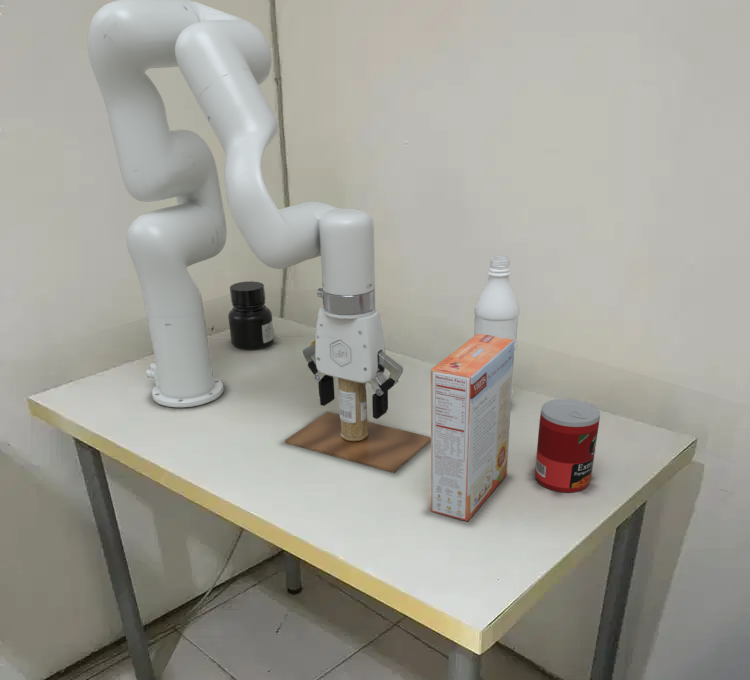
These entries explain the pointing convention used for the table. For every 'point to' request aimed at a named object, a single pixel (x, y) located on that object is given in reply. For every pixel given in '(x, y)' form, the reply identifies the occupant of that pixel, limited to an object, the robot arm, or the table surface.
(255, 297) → the ink bottle
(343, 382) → the spice jar
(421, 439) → the wooden board
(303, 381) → the table surface
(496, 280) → the water bottle
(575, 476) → the canned food
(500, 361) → the cracker box
